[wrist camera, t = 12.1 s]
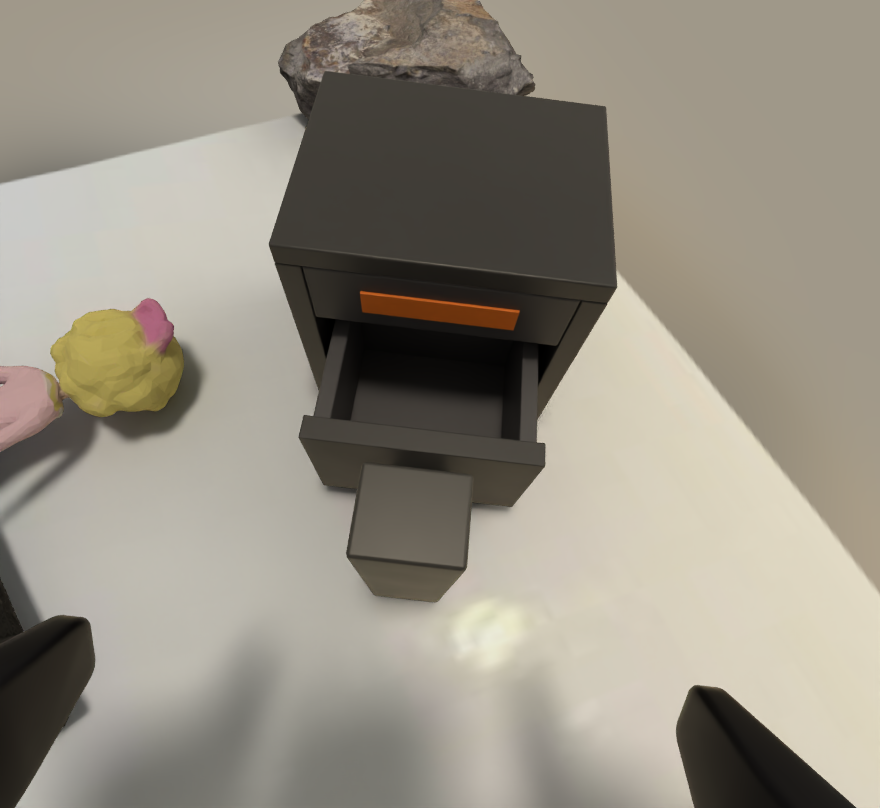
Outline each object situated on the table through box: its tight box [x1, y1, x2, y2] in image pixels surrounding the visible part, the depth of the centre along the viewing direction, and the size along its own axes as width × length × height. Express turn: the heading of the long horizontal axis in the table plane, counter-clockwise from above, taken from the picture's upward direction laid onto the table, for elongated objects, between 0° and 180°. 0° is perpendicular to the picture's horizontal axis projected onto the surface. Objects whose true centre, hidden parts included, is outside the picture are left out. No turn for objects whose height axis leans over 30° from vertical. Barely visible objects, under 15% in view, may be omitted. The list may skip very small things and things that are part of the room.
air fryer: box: [269, 71, 617, 419], centre depth 20 cm, size 8×10×10 cm
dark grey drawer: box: [299, 319, 545, 602], centre depth 17 cm, size 11×8×10 cm
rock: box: [278, 0, 535, 119], centre depth 30 cm, size 14×11×5 cm
